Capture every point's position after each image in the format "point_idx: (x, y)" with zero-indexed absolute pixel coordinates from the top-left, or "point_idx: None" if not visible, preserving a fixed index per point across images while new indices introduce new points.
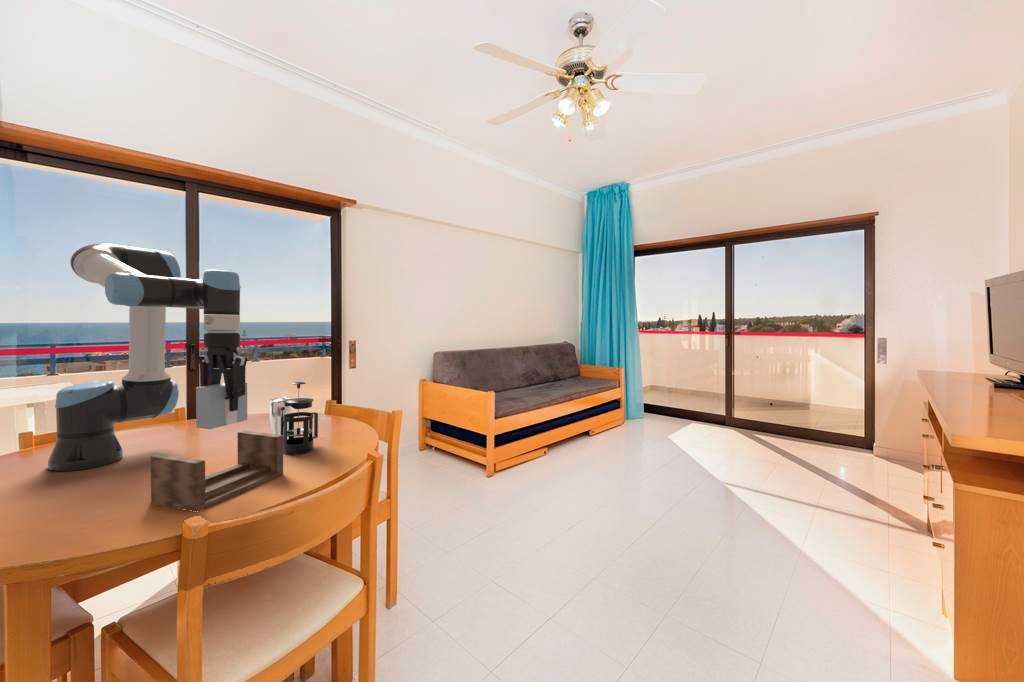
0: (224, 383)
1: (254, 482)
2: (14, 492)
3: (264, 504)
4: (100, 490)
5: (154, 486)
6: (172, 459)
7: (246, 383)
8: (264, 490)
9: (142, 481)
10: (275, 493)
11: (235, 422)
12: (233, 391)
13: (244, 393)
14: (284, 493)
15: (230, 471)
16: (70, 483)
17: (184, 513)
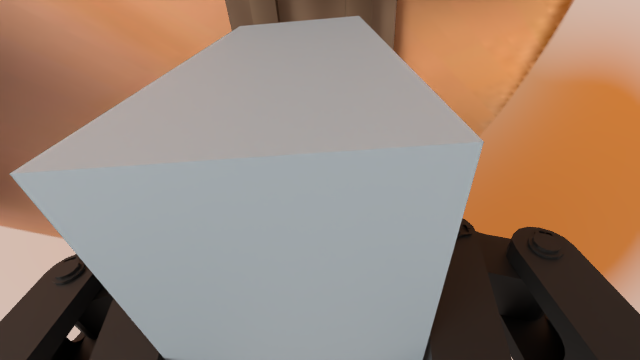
0: (170, 332)
1: (394, 19)
2: (8, 223)
3: (493, 87)
4: None
5: None
6: None
7: (469, 152)
8: (437, 24)
9: (99, 112)
10: (481, 27)
11: None
12: (508, 337)
13: (567, 251)
14: (507, 16)
15: (277, 12)
16: (5, 174)
17: None
